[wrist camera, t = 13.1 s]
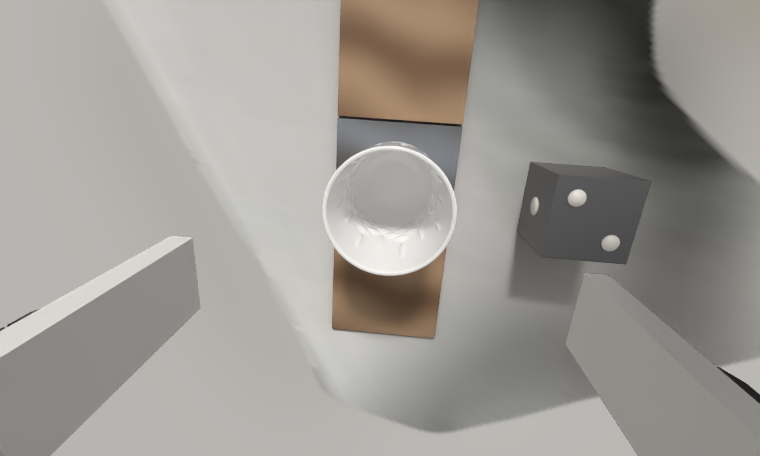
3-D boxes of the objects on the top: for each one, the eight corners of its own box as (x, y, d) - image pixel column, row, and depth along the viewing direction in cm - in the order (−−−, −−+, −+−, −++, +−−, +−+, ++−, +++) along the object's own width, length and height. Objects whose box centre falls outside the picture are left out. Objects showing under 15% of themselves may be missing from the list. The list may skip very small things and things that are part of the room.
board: (342, -25, 27) (341, -27, 26) (480, -18, 26) (481, -20, 26) (333, 325, 36) (332, 328, 36) (433, 335, 36) (434, 338, 35)
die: (529, 161, 30) (558, 174, 24) (604, 167, 30) (652, 181, 24) (515, 230, 32) (539, 257, 26) (586, 236, 32) (626, 264, 26)
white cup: (329, 189, 31) (296, 224, 22) (386, 113, 29) (376, 115, 20) (400, 243, 32) (399, 299, 23) (460, 174, 30) (486, 205, 21)
